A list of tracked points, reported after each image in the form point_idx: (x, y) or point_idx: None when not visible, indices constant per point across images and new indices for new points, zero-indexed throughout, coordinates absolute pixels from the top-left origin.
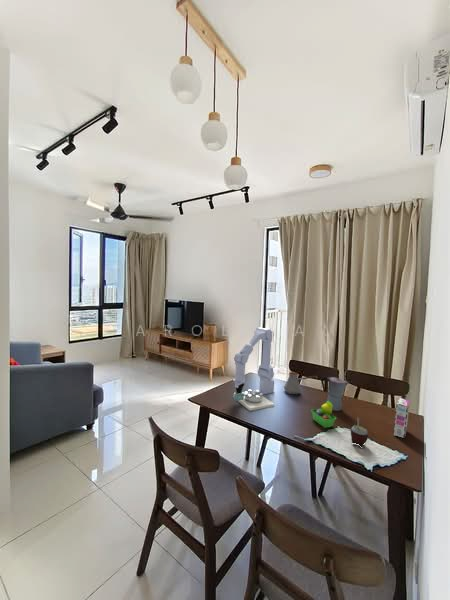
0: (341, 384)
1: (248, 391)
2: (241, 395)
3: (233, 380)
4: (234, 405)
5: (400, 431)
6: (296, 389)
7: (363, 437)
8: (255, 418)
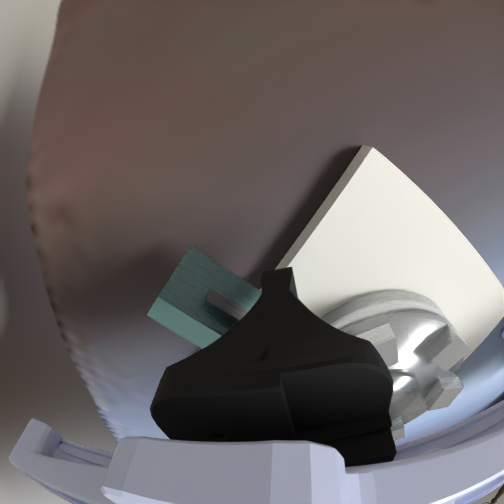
0: None
1: (439, 338)
2: None
3: (114, 478)
4: (181, 252)
5: None
6: None
7: None
8: (142, 407)
